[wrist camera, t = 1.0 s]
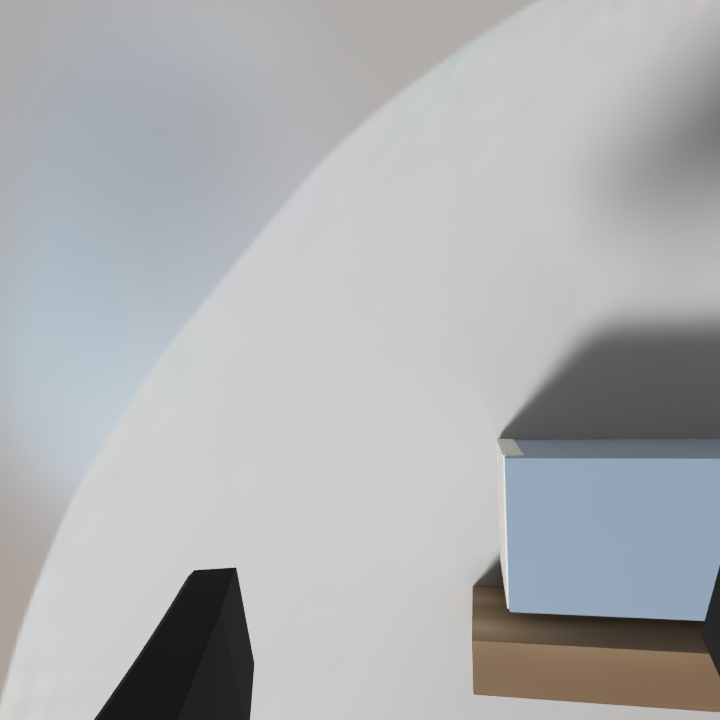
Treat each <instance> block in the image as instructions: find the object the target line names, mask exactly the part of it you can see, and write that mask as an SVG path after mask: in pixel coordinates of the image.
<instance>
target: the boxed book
mask: <svg viewBox="0 0 720 720" xmlns="http://www.w3.org/2000/svg"><path fill="white" fill-rule="evenodd" d="M497 467H498V501H499V536H500V561H501V568H502V575H503V582H504V589H505V596H506V603H507V609H509V610H510V612H519V613H541V614H563V615H584V616H606V617H628V618H650V619H671V620H693V621H705V618H706V614H707V610H708V607H709V603H710V599H711V596H712V592H713V588H714V585H715V581H716V577H717V574H718V570H719V566H720V439H497Z"/></svg>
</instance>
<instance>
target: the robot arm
mask: <svg viewBox="0 0 720 720" xmlns="http://www.w3.org/2000/svg"><path fill="white" fill-rule="evenodd" d="M701 637H702V639H703V641H704V643H705V645H706V648H707V650H708V652H709V654H710V657H711V659H712V661H713V663H714V666H715V668H716V670H717V672H718V674H719V677H720V566H719V570H718V574H717V577H716V581H715V585H714V588H713V592H712V596H711V599H710V603H709V607H708V610H707V614H706V618H705V621H704V625H703V628H702V632H701ZM253 672H254V661H253V655H252V650H251V644H250V639H249V634H248V628H247V623H246V618H245V612H244V607H243V602H242V596H241V591H240V586H239V580H238V575H237V570H236V568H224V569H209V570H194V571H193V572H192V573H191V574H190V575H189V576H188V578H187V579H186V581H185V583H184V584H183V586H182V588H181V589H180V591H179V593H178V594H177V596H176V598H175V599H174V601H173V602H172V604H171V606H170V607H169V609H168V611H167V612H166V614H165V615H164V617H163V619H162V620H161V622H160V623H159V625H158V626H157V628H156V630H155V631H154V633H153V634H152V636H151V637H150V639H149V640H148V642H147V643H146V645H145V646H144V648H143V650H142V651H141V653H140V654H139V656H138V657H137V659H136V660H135V662H134V663H133V665H132V666H131V667H130V669H129V670H128V672H127V673H126V675H125V676H124V678H123V679H122V680H121V682H120V683H119V685H118V686H117V688H116V689H115V691H114V692H113V693H112V695H111V696H110V698H109V699H108V701H107V702H106V704H105V705H104V707H103V708H102V709H101V711H100V712H99V714H98V715H97V716H96V718H95V719H94V720H250V711H251V699H252V685H253Z"/></svg>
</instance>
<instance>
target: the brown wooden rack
mask: <svg viewBox="0 0 720 720" xmlns="http://www.w3.org/2000/svg"><path fill="white" fill-rule="evenodd" d="M703 625H704V621H693V620H671V619H650V618H628V617H606V616H584V615H563V614H541V613H519V612H510V610H509V609H507V603H506V596H505V589H504V588H497V587H473V616H472V652H473V690H474V695H488V696H502V697H516V698H529V699H543V700H557V701H571V702H585V703H599V704H613V705H627V706H641V707H655V708H669V709H683V710H697V711H711V712H720V677H719V674H718V672H717V670H716V668H715V666H714V663H713V661H712V659H711V657H710V654H709V652H708V650H707V648H706V645H705V643H704V641H703V639H702V637H701V632H702V628H703Z"/></svg>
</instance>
